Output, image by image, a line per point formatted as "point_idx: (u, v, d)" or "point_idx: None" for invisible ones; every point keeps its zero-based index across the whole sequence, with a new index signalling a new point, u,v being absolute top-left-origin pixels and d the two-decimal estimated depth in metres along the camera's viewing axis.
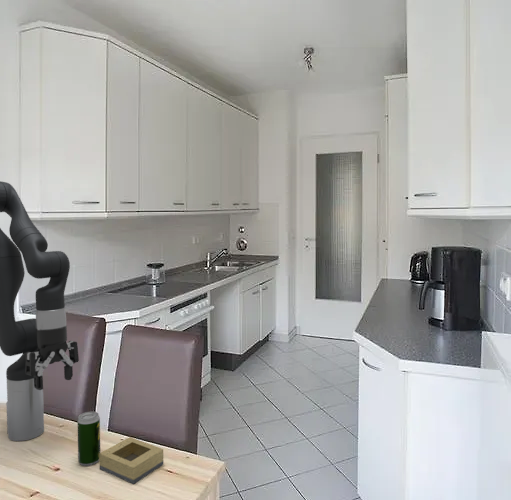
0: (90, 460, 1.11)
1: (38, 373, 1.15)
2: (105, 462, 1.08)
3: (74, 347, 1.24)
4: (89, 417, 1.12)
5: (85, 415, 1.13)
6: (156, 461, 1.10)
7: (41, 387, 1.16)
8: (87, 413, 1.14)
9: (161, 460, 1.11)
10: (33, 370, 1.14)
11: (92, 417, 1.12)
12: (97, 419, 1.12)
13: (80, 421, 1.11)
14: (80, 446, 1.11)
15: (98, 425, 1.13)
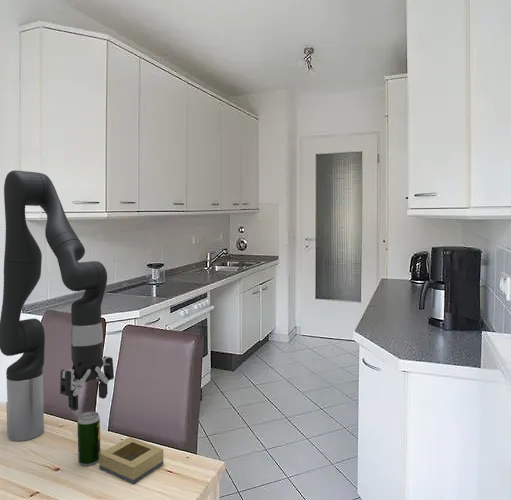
0: (90, 460, 1.11)
1: (73, 393, 1.07)
2: (105, 462, 1.08)
3: (109, 363, 1.16)
4: (89, 417, 1.12)
5: (85, 415, 1.13)
6: (156, 461, 1.10)
7: (76, 407, 1.08)
8: (87, 413, 1.14)
9: (161, 460, 1.11)
10: (69, 390, 1.06)
11: (92, 417, 1.12)
12: (97, 419, 1.12)
13: (80, 421, 1.11)
14: (80, 446, 1.11)
15: (98, 425, 1.13)
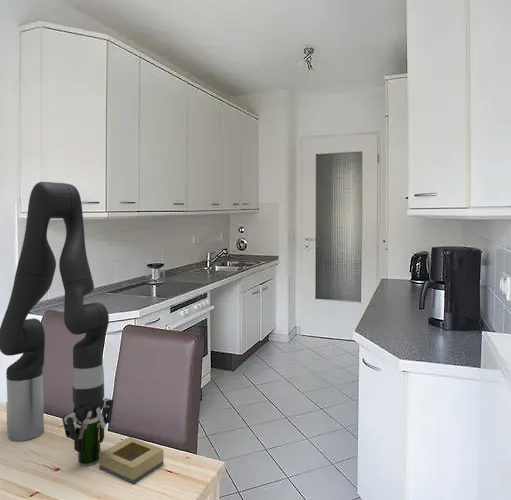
0: (90, 460, 1.11)
1: (79, 436, 1.09)
2: (105, 462, 1.08)
3: (109, 406, 1.17)
4: None
5: None
6: (156, 461, 1.10)
7: (82, 450, 1.10)
8: None
9: (161, 460, 1.11)
10: (74, 433, 1.08)
11: (92, 417, 1.12)
12: (97, 419, 1.12)
13: None
14: None
15: (98, 425, 1.13)
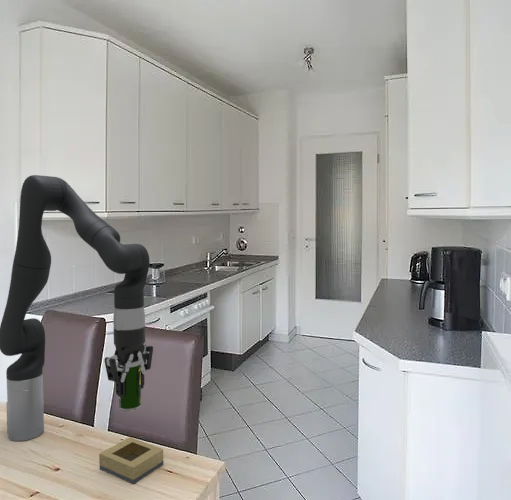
0: (132, 405, 1.08)
1: (121, 379, 1.06)
2: (105, 462, 1.08)
3: (149, 352, 1.13)
4: None
5: None
6: (156, 461, 1.10)
7: (123, 394, 1.07)
8: None
9: (161, 460, 1.11)
10: (117, 376, 1.04)
11: (133, 361, 1.08)
12: (138, 363, 1.09)
13: None
14: None
15: (139, 370, 1.09)
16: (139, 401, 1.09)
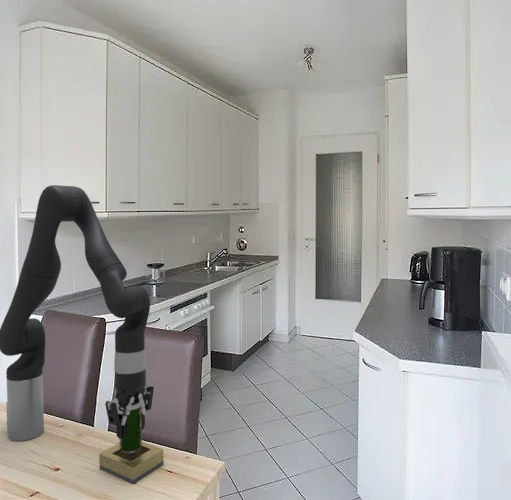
0: (132, 447, 1.08)
1: (122, 422, 1.06)
2: (105, 462, 1.08)
3: (150, 392, 1.14)
4: None
5: None
6: (156, 461, 1.10)
7: (124, 437, 1.07)
8: None
9: (161, 460, 1.11)
10: (118, 419, 1.05)
11: (134, 403, 1.09)
12: (139, 405, 1.10)
13: None
14: None
15: (140, 411, 1.10)
16: (140, 443, 1.10)
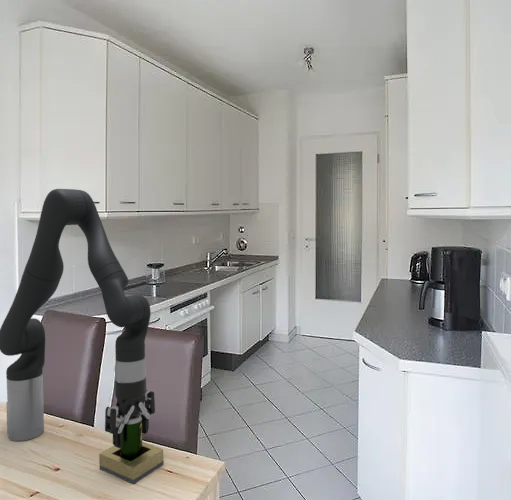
0: None
1: (118, 430, 1.05)
2: (105, 462, 1.08)
3: (151, 398, 1.14)
4: (132, 417, 1.10)
5: None
6: (156, 461, 1.10)
7: (121, 445, 1.06)
8: None
9: (161, 460, 1.11)
10: (114, 428, 1.04)
11: (135, 417, 1.10)
12: (140, 419, 1.10)
13: None
14: (123, 447, 1.09)
15: (140, 425, 1.10)
16: None
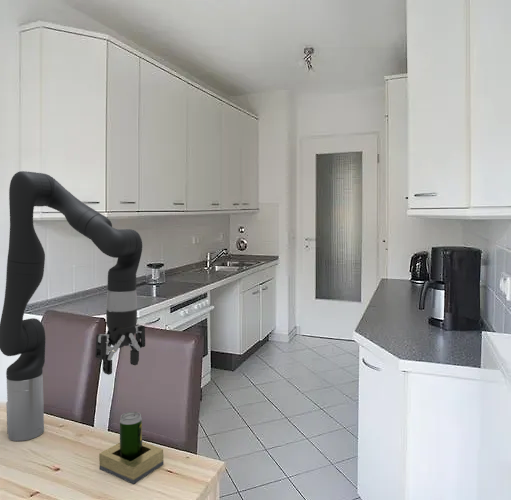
0: None
1: (108, 357, 1.09)
2: (105, 462, 1.08)
3: (142, 331, 1.18)
4: (131, 417, 1.10)
5: (127, 415, 1.11)
6: (156, 461, 1.10)
7: (110, 372, 1.10)
8: (128, 413, 1.12)
9: (161, 460, 1.11)
10: (104, 354, 1.08)
11: (134, 417, 1.09)
12: (139, 419, 1.10)
13: (123, 421, 1.08)
14: (122, 447, 1.09)
15: (140, 426, 1.10)
16: None
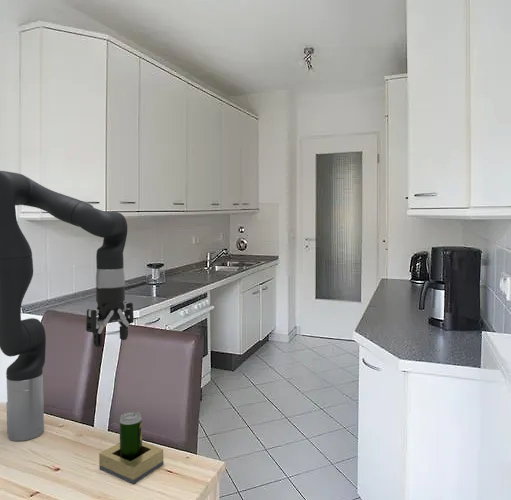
0: None
1: (98, 330, 1.16)
2: (105, 462, 1.08)
3: (130, 308, 1.25)
4: (131, 417, 1.10)
5: (127, 415, 1.11)
6: (156, 461, 1.10)
7: (100, 344, 1.17)
8: (128, 413, 1.12)
9: (161, 460, 1.11)
10: (94, 327, 1.15)
11: (134, 417, 1.09)
12: (139, 419, 1.10)
13: (122, 421, 1.08)
14: (122, 447, 1.09)
15: (140, 426, 1.10)
16: None
